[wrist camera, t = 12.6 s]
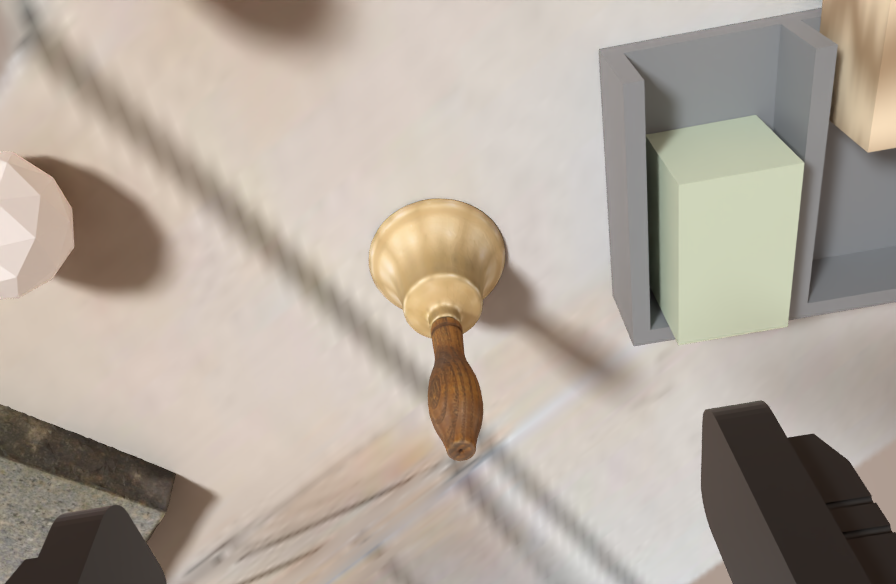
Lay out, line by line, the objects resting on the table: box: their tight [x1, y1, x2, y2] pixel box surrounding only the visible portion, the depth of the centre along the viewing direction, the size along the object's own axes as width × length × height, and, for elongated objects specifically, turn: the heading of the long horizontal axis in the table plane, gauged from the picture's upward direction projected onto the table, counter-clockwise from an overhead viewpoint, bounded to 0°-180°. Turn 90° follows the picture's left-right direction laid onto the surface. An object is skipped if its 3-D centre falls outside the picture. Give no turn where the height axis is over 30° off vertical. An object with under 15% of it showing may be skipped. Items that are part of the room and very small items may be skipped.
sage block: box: [646, 115, 804, 345], centre depth 43 cm, size 10×6×6 cm, turn 10°
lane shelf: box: [599, 8, 896, 346], centre depth 43 cm, size 16×19×5 cm
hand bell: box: [369, 199, 505, 461], centre depth 41 cm, size 8×8×16 cm
